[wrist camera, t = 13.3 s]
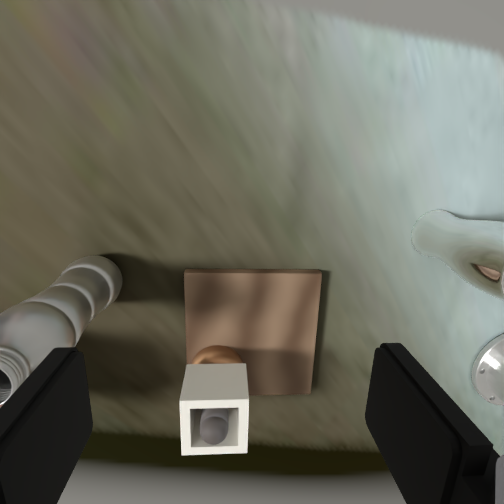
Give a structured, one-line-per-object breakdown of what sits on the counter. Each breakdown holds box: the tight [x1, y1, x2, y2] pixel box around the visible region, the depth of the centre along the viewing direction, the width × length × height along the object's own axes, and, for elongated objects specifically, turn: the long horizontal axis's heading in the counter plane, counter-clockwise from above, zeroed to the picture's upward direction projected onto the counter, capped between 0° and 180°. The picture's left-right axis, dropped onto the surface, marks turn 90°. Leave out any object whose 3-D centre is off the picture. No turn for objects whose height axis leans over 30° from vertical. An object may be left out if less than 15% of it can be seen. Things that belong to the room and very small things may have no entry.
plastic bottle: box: [0, 255, 122, 406], centre depth 31 cm, size 6×7×20 cm
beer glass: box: [411, 210, 504, 301], centre depth 35 cm, size 7×7×15 cm
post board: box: [184, 269, 322, 445], centre depth 38 cm, size 17×18×13 cm
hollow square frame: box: [180, 363, 249, 455], centre depth 37 cm, size 7×7×6 cm
